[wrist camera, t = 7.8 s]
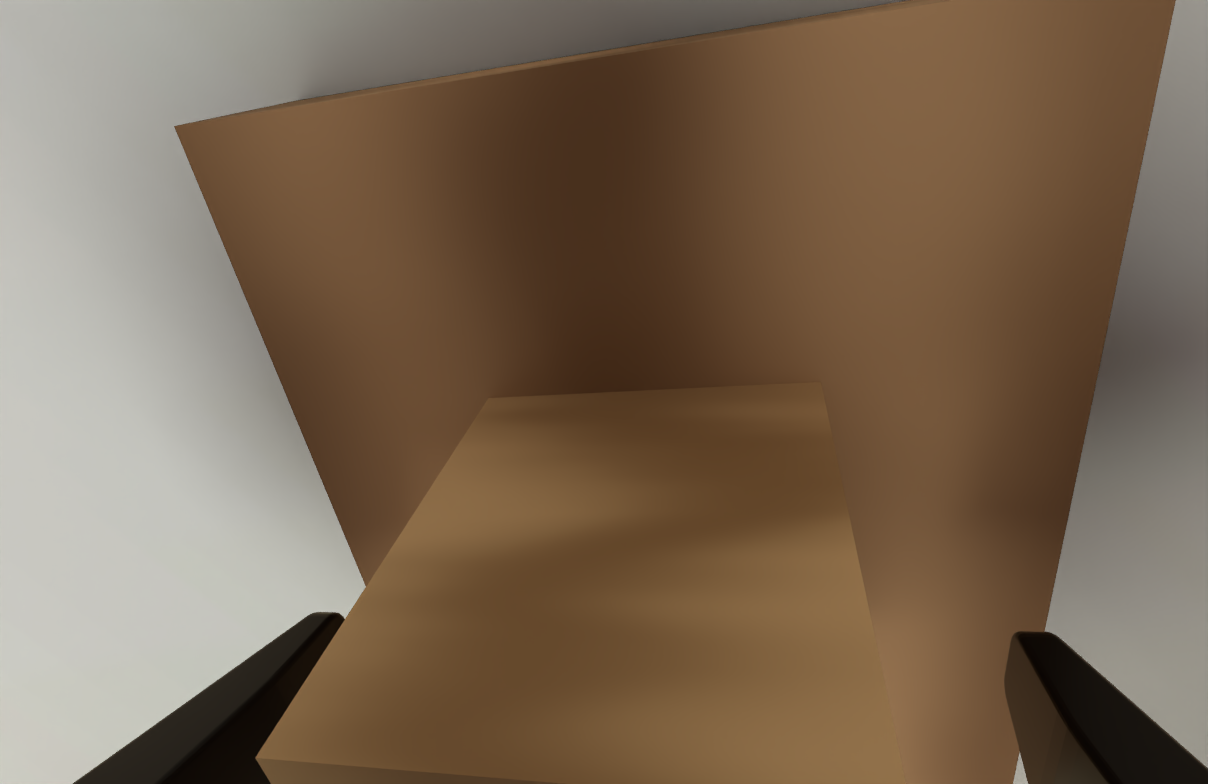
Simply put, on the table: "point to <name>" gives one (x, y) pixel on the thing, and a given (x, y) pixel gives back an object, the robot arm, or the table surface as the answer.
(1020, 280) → the walnut board
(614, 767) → the oak block
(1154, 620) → the table surface
